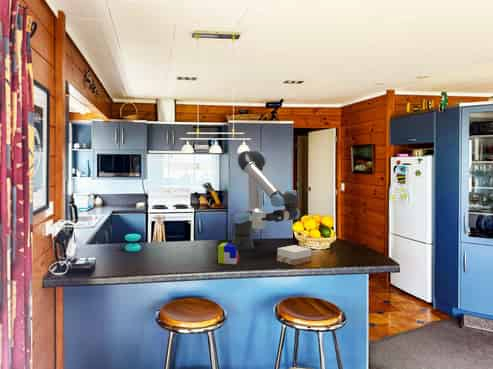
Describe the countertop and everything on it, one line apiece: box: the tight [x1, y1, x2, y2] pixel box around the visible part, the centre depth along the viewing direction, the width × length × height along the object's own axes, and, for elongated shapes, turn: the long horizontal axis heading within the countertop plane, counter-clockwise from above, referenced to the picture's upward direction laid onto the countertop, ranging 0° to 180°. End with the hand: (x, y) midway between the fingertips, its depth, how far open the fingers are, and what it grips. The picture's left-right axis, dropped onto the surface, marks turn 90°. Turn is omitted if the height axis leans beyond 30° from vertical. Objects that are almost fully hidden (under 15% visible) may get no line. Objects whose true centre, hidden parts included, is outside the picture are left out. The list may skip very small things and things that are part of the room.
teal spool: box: [124, 233, 142, 252], centre depth 266 cm, size 10×10×10 cm
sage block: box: [252, 210, 267, 230], centre depth 248 cm, size 6×6×10 cm
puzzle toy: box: [217, 242, 240, 265], centre depth 239 cm, size 10×10×10 cm
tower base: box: [276, 254, 312, 266], centre depth 242 cm, size 14×14×4 cm
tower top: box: [277, 244, 312, 259], centre depth 241 cm, size 14×14×4 cm
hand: (253, 218), depth 245 cm, fingers closed on sage block, 6 cm apart
